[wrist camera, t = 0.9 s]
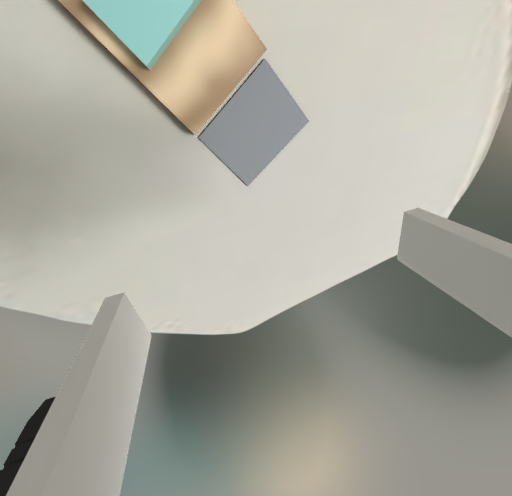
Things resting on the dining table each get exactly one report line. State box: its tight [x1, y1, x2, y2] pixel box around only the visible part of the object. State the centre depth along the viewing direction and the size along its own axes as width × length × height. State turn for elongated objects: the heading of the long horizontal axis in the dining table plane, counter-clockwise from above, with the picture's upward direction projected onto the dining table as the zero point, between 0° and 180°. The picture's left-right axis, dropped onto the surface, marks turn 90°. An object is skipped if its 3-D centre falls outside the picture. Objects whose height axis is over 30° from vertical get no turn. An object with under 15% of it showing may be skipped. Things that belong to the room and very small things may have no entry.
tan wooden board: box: [58, 0, 267, 135], centre depth 24 cm, size 16×12×2 cm
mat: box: [199, 59, 309, 186], centre depth 31 cm, size 9×12×1 cm
